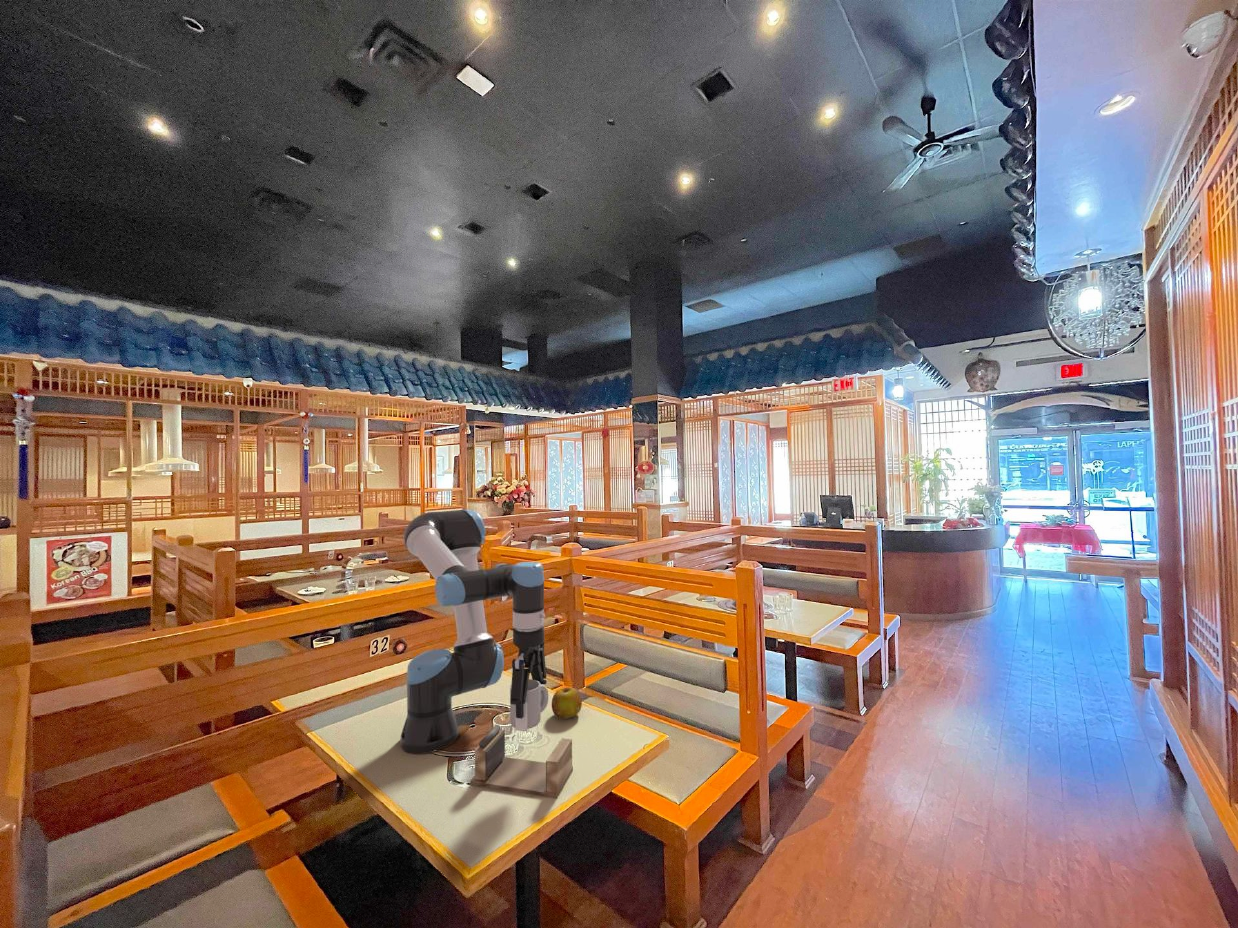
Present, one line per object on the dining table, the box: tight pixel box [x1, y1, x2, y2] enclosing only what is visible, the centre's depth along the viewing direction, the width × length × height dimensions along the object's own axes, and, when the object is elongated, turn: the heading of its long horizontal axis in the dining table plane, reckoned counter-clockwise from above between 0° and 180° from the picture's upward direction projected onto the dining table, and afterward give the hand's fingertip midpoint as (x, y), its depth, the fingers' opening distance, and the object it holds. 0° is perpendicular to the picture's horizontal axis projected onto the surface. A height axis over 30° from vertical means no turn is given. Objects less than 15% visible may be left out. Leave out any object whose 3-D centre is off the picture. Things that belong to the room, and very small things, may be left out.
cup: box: [509, 678, 549, 729], centre depth 123 cm, size 7×10×9 cm
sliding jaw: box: [474, 724, 506, 780], centre depth 125 cm, size 3×10×9 cm, turn 166°
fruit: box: [551, 687, 583, 720], centre depth 153 cm, size 10×9×8 cm
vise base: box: [469, 737, 574, 799], centre depth 123 cm, size 22×11×8 cm, turn 76°
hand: (529, 720), depth 122 cm, fingers closed on cup, 9 cm apart
